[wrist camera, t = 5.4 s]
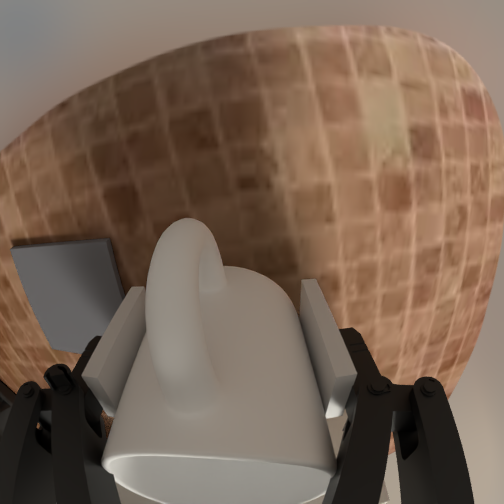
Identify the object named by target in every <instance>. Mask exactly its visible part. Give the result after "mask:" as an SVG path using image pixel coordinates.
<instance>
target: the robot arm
mask: <svg viewBox="0 0 504 504" xmlns="http://www.w3.org/2000/svg"><path fill="white" fill-rule="evenodd" d="M145 298H146V292H145V288H144V286H140V287H131V289H130V290H129V292H128V293H127V295H126V297H125V298H124V300H123V302H122V303H121V305H120V307H119V308H118V310H117V312H116V313H115V315H114V317H113V318H112V320H111V322H110V324H109V325H108V327H107V329H106V330H105V332H104V334H103V336H95V337H94V338H93V339H92V340H91V341H90V342H89V343H88V344H87V346H86V348H85V351H83V353H82V355H81V357H80V358H79V360H78V362H77V364H76V366H75V368H74V369H73V371H72V372H71V370H70V369H69V367H68V366H67V365H65V364H56V365H53V366H51V367H50V368H48V369H47V371H46V372H45V374H44V379H45V380H46V382H47V383H48V385H49V386H50V388H49V389H41V388H40V387H39V385H38V384H37V383H36V382H33V381H30V382H26V383H24V384H23V385H22V386H21V387H20V388H19V390H18V392H17V395H15V394H14V393H13V392H12V391H11V390H10V389H9V388H7V387H6V386H5V385H4V384H3V383H2V382H0V504H56V502H57V504H121V501H120V498H119V494H118V491H117V487H116V483H115V479H114V474H111V473H109V472H108V471H106V470H105V469H104V468H103V467H102V465H101V460H102V456H103V452H104V449H105V446H106V442H107V439H106V432H105V425H104V421H103V418H102V417H101V413H102V410H104V411H105V412H106V414H107V415H108V416H110V417H115V414H116V411H117V408H118V405H119V402H120V399H121V397H122V394H123V391H124V388H125V385H126V382H127V380H128V377H129V374H130V372H131V369H132V366H133V364H134V361H135V358H136V356H137V353H138V351H139V348H140V346H141V343H142V341H143V338H144V336H145V333H146V318H145ZM299 320H300V323H301V327H302V330H303V334H304V337H305V341H306V345H307V348H308V352H309V355H310V359H311V363H312V366H313V370H314V374H315V378H316V381H317V385H318V389H319V393H320V397H321V400H322V404H323V408H324V412H325V416H326V419H327V418H333V417H339V416H343V413H344V410H346V413H347V416H348V418H347V420H346V423H345V425H344V427H343V430H342V431H344V432H343V436H342V440H341V444H340V447H339V451H338V455H337V458H336V461H337V470H336V473H335V475H334V476H333V477H332V478H330V482H329V485H328V488H327V491H326V494H325V496H324V499H323V502H322V504H379V500H380V495H381V491H382V486H383V481H384V476H385V470H386V464H387V458H388V451H389V444H390V436H391V432H393V437H394V443H395V450H396V457H397V464H398V472H399V482H400V491H401V504H474V499H473V492H472V487H471V482H470V477H469V472H468V468H467V464H466V459H465V456H464V451H463V448H462V444H461V440H460V437H459V433H458V430H457V427H456V424H455V421H454V417H453V414H452V411H451V409H450V405H449V403H448V400H447V397H446V394H445V391H444V389H443V386H442V385H441V383H440V382H439V381H438V380H436V379H435V378H432V377H422V378H419V379H418V380H417V381H415V383H414V385H397V384H392V382H391V381H390V380H389V379H388V378H386V377H384V376H381V374H380V372H379V370H378V368H377V366H376V364H375V362H374V360H373V358H372V356H371V354H370V352H369V351H368V348H367V346H366V344H365V342H364V340H363V338H362V336H361V334H360V333H359V332H357V331H356V330H355V329H354V328H345V329H338V327H337V325H336V322H335V320H334V318H333V315H332V313H331V311H330V309H329V306H328V304H327V302H326V300H325V298H324V295H323V293H322V291H321V289H320V287H319V285H318V282H317V280H316V279H302V280H301V297H300V314H299ZM37 423H39V424H40V427H39V429H37V428H36V427H37Z"/></svg>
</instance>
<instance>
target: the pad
mask: <svg viewBox="0 0 504 504" xmlns="http://www.w3.org/2000/svg"><path fill="white" fill-rule="evenodd" d="M10 251H11V254H12V257H13V260H14V263H15V266H16V269H17V272H18V275H19V277H20V280H21V283H22V285H23V288H24V290H25V293H26V295H27V298H28V300H29V302H30V305H31V307H32V309H33V311H34V314H35V316H36V318H37V320H38V322H39V324H40V326H41V328H42V330H43V332H44V334H45V336H46V338H47V340H48V342H49V344H50V346H51V347H52V349H56V350H61V351H67V352H73V353H79V354H82V353H83V351H85V348H86V346H87V344H88V343H89V342H90V341H91V340H92V339H93V338H94V337H95V336H103V334H104V332H105V330H106V329H107V327H108V325H109V324H110V322H111V320H112V318H113V317H114V315H115V313H116V312H117V310H118V308H119V307H120V305H121V303H122V302H123V300H124V298H125V294H124V291H123V287H122V284H121V280H120V277H119V273H118V269H117V266H116V262H115V258H114V254H113V250H112V245H111V241H110V238H104V239H91V240H79V241H67V242H56V243H45V244H34V245H24V246H14V247H13V248H11V249H10Z"/></svg>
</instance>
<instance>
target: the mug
mask: <svg viewBox="0 0 504 504" xmlns="http://www.w3.org/2000/svg"><path fill="white" fill-rule="evenodd" d="M145 318H146V333H145V336H144V338H143V341H142V343H141V346H140V348H139V351H138V353H137V356H136V358H135V361H134V364H133V366H132V369H131V372H130V374H129V377H128V380H127V382H126V385H125V388H124V391H123V394H122V397H121V399H120V402H119V405H118V408H117V411H116V414H115V417H114V420H113V423H112V426H111V429H110V433H109V436H108V439H107V442H106V446H105V449H104V452H103V456H102V460H101V465H102V467H103V468H104V469H105V470H106V471H108V472H109V473H111V474H114V479H115V482H116V483H118V484H120V485H121V486H123V487H124V488H126V489H128V490H130V491H132V492H134V493H136V494H138V495H141V496H143V497H146V498H148V499H151V500H154V501H157V502H160V503H163V504H302V503H305V502H308V501H311V500H313V499H316V498H318V497H320V496H322V495H324V494H326V491H327V488H328V485H329V482H330V478H332V477H333V476H334V475H335V473H336V470H337V461H336V456H335V452H334V448H333V444H332V440H331V436H330V432H329V428H328V424H327V420H326V416H325V412H324V408H323V404H322V400H321V397H320V393H319V389H318V385H317V381H316V378H315V374H314V370H313V366H312V363H311V359H310V355H309V352H308V348H307V345H306V341H305V337H304V334H303V330H302V327H301V323H300V320H299V317H298V314H297V311H296V309H295V307H294V305H293V303H292V301H291V300H290V298H289V297H288V295H287V294H286V292H285V291H284V290H283V289H282V288H281V287H280V286H279V285H277V284H276V283H275V282H274V281H272V280H271V279H269V278H267V277H266V276H264V275H262V274H260V273H257V272H255V271H252V270H249V269H246V268H240V267H235V266H223V263H222V259H221V256H220V252H219V249H218V246H217V243H216V241H215V239H214V236H213V234H212V233H211V231H210V230H209V229H208V228H207V226H206V225H205V224H204V223H203V222H201V221H198V220H196V219H193V218H183V219H180V220H178V221H176V222H173V223H172V224H171V225H170V226H169V227H168V228H167V229H166V230H165V231H164V232H163V233H162V235H161V237H160V238H159V240H158V242H157V245H156V247H155V250H154V253H153V256H152V259H151V263H150V268H149V272H148V277H147V286H146V298H145Z"/></svg>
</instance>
